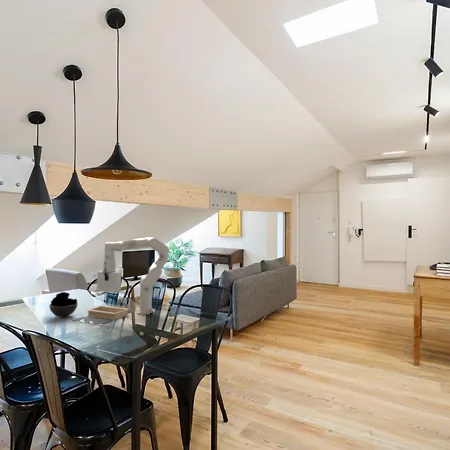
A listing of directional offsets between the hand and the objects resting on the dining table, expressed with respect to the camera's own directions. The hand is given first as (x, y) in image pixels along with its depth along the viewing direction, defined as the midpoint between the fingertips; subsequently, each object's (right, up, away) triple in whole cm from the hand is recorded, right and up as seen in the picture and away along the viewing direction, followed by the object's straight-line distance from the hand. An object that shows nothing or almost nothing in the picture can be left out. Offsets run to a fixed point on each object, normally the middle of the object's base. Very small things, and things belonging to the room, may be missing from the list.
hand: (109, 279), depth 270 cm
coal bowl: (-34, -28, -6) cm, 45 cm away
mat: (-7, -28, -17) cm, 34 cm away
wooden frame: (-1, -29, 0) cm, 29 cm away
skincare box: (0, -10, 0) cm, 10 cm away
